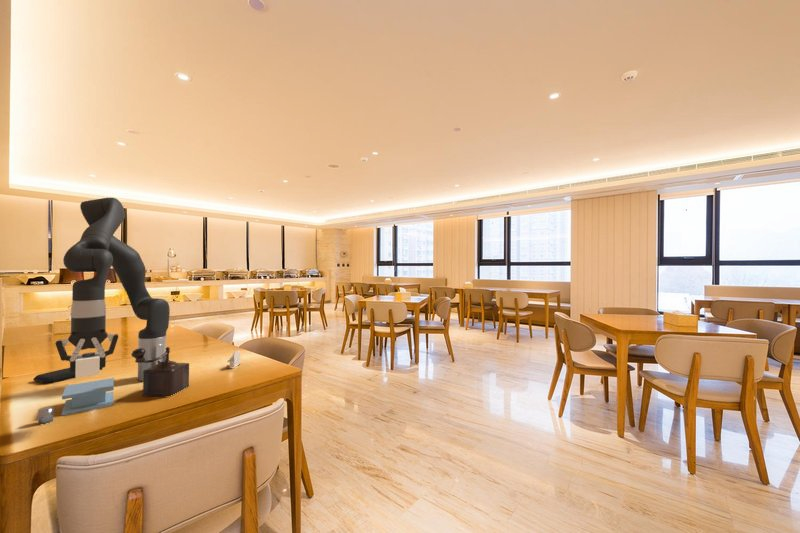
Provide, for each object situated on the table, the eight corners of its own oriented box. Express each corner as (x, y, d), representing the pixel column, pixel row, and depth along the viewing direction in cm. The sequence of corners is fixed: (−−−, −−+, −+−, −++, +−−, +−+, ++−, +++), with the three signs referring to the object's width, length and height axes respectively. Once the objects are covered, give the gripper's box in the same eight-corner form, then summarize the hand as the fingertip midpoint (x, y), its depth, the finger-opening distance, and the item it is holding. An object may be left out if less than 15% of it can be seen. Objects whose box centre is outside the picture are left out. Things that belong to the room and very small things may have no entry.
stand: (113, 394, 117) (113, 377, 117) (113, 405, 108) (113, 387, 108) (66, 403, 109) (66, 385, 109) (61, 415, 100) (61, 396, 100)
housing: (77, 370, 98) (77, 352, 98) (100, 367, 102) (100, 349, 102) (75, 378, 92) (75, 358, 92) (99, 374, 96) (99, 355, 96)
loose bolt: (53, 418, 98) (54, 405, 98) (52, 422, 96) (52, 409, 96) (39, 422, 96) (39, 408, 96) (37, 425, 94) (37, 412, 94)
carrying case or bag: (47, 386, 125) (93, 374, 139) (47, 378, 125) (93, 367, 139) (30, 383, 128) (77, 371, 142) (30, 375, 128) (77, 365, 142)
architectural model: (226, 369, 148) (226, 353, 148) (234, 364, 155) (234, 349, 155) (233, 369, 148) (234, 353, 148) (241, 365, 155) (241, 349, 155)
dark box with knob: (162, 385, 126) (163, 339, 126) (189, 386, 126) (190, 340, 126) (127, 402, 111) (128, 349, 111) (158, 403, 110) (159, 350, 110)
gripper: (120, 311, 104) (119, 363, 104) (55, 315, 95) (55, 373, 95) (120, 314, 99) (120, 369, 99) (52, 318, 89) (51, 380, 89)
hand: (88, 371), depth 97 cm, fingers closed on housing, 5 cm apart
